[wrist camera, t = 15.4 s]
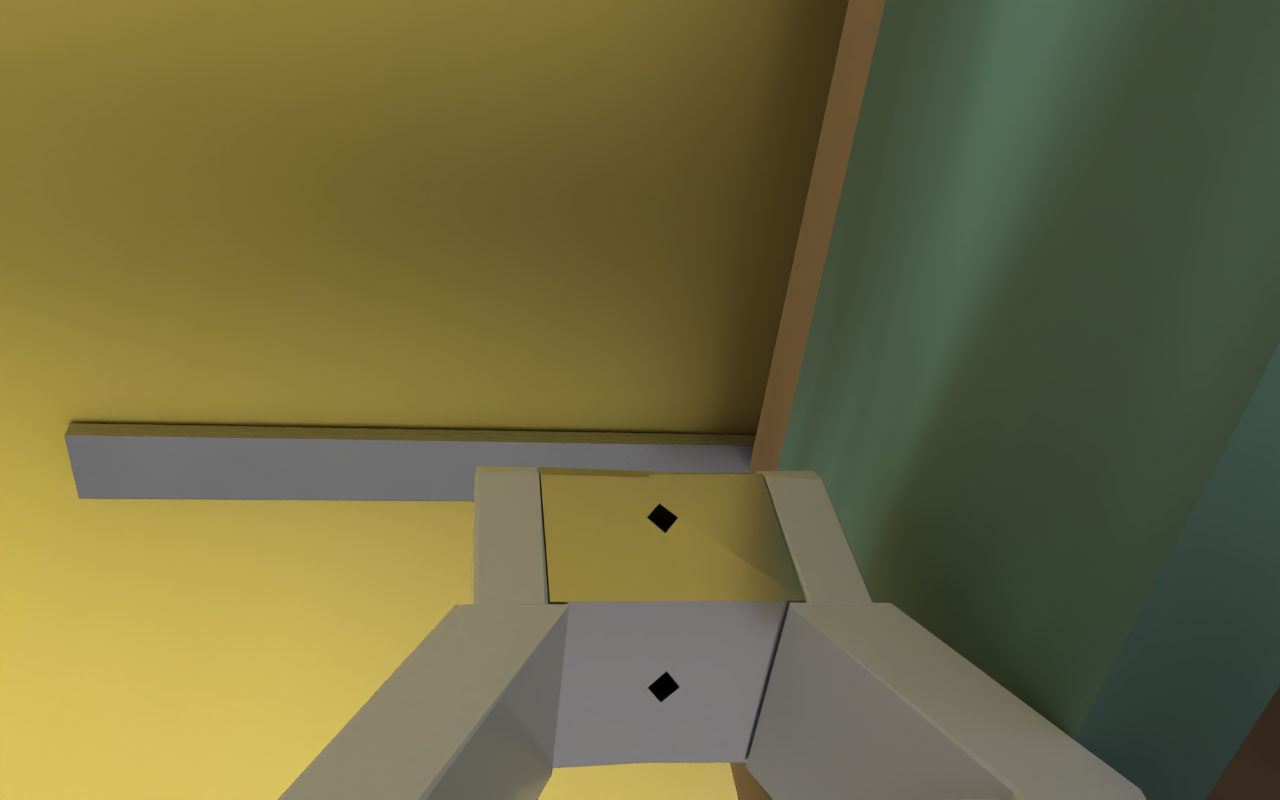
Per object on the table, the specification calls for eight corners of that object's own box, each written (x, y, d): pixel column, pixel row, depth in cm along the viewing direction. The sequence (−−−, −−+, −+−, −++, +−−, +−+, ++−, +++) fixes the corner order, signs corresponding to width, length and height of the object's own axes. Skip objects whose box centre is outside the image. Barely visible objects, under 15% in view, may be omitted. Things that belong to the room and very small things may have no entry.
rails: (2184, -27, 16) (2211, -22, 16) (1727, 500, 22) (1741, 510, 22) (-89, -293, 11) (-103, -292, 11) (84, 485, 17) (79, 498, 16)
